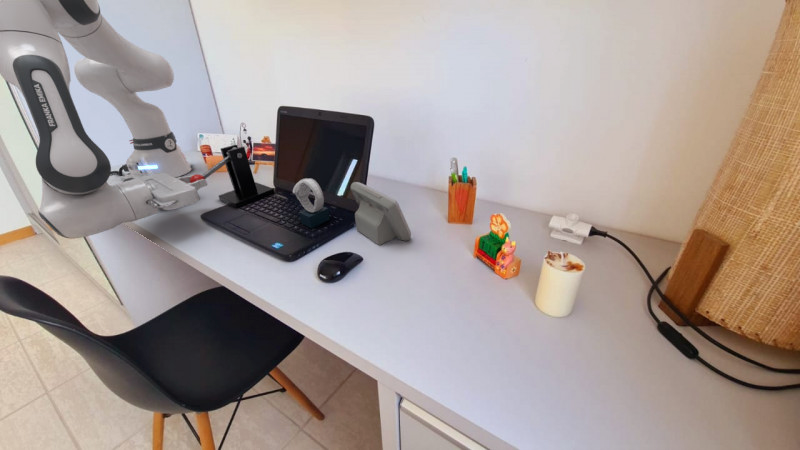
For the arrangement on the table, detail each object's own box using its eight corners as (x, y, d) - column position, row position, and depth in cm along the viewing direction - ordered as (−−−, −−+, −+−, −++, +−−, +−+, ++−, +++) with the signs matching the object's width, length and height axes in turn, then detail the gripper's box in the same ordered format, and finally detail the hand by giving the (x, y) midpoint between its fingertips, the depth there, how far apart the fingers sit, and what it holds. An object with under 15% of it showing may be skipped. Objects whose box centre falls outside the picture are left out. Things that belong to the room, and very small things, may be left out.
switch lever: (199, 192, 85) (189, 181, 82) (193, 189, 87) (184, 179, 84) (245, 157, 92) (237, 146, 89) (238, 155, 94) (231, 144, 91)
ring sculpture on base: (314, 212, 85) (306, 173, 80) (334, 221, 80) (327, 179, 75) (296, 221, 82) (286, 180, 76) (316, 230, 77) (306, 187, 71)
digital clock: (415, 242, 70) (413, 197, 65) (376, 254, 67) (371, 208, 62) (383, 213, 83) (379, 173, 78) (349, 222, 80) (343, 181, 74)
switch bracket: (236, 208, 90) (219, 156, 83) (219, 200, 96) (201, 151, 89) (274, 193, 98) (261, 144, 91) (257, 186, 104) (243, 140, 97)
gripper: (150, 196, 69) (215, 176, 78) (121, 177, 81) (181, 161, 90) (162, 222, 72) (223, 199, 81) (132, 200, 84) (189, 183, 93)
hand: (201, 179), depth 86 cm, fingers closed on switch lever, 3 cm apart
